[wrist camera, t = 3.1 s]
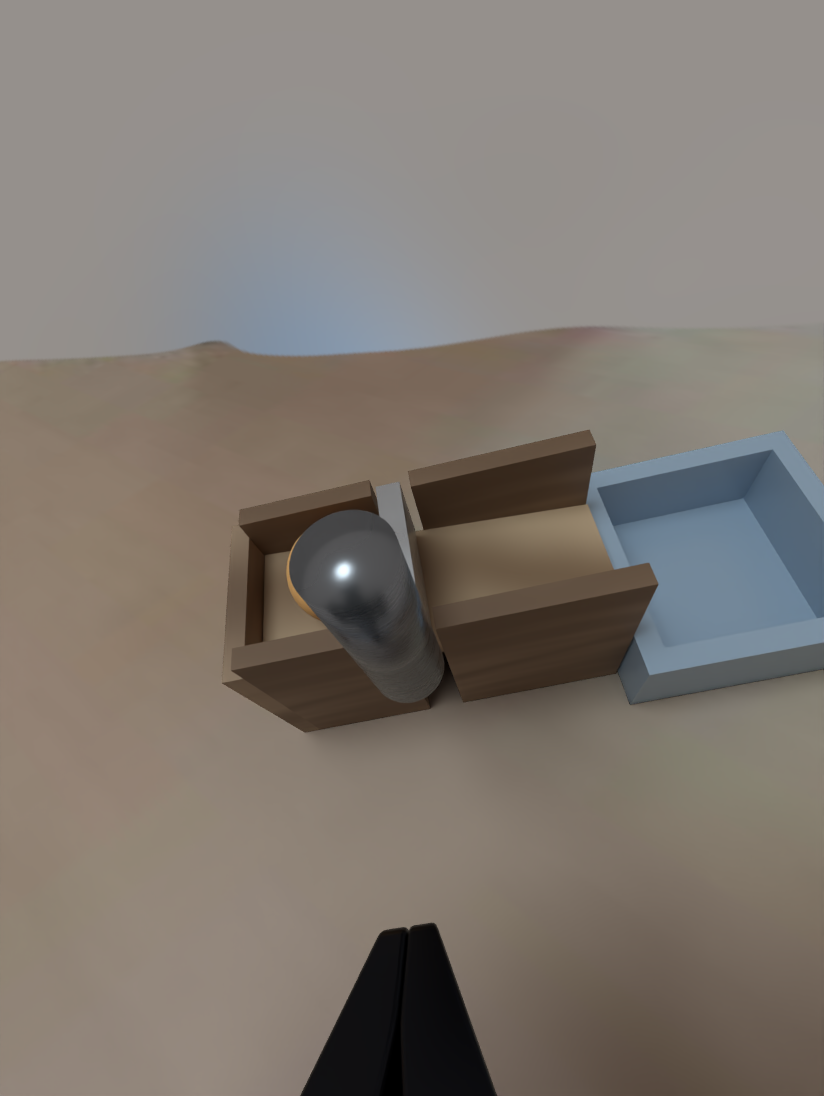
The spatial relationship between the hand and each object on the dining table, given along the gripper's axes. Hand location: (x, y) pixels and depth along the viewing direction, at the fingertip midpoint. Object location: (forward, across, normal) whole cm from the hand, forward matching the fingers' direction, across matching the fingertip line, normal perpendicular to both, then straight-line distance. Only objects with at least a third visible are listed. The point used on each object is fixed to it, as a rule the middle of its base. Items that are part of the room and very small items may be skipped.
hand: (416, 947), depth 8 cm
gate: (+10, 0, -1) cm, 11 cm away
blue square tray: (+16, -12, +2) cm, 19 cm away
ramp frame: (+16, -1, +2) cm, 16 cm away
